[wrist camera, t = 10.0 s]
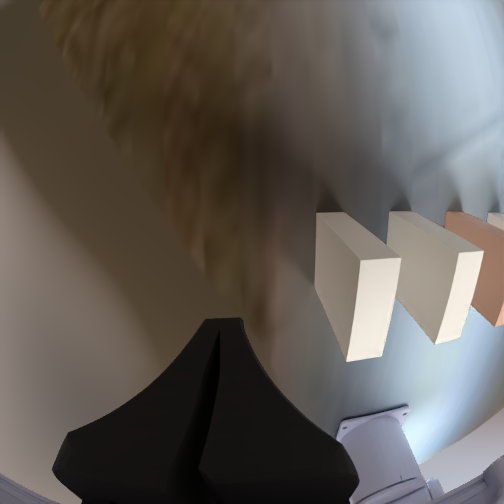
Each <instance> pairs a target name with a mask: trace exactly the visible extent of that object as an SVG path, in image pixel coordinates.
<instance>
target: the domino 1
mask: <svg viewBox="0 0 504 504" xmlns="http://www.w3.org/2000/svg"><path fill="white" fill-rule="evenodd" d="M400 264H401V257H400V256H399V255H398V254H397V253H396V252H394V251H393V250H392V249H391V248H389V247H388V246H387V245H386V244H385V243H383V242H382V241H381V240H380V239H378V238H377V237H376V236H375V235H373V234H372V233H371V232H370V231H368V230H367V229H366V228H364V227H363V226H362V225H361V224H359V223H358V222H357V221H355V220H354V219H353V218H351V217H350V216H349V215H347V214H346V213H345V212H329V213H316V256H315V282H314V287H315V290H316V292H317V294H318V296H319V299H320V301H321V303H322V306H323V308H324V310H325V312H326V315H327V317H328V319H329V322H330V324H331V326H332V329H333V331H334V333H335V336H336V338H337V341H338V343H339V345H340V348H341V350H342V353H343V355H344V357H345V360H346V362H349V361H356V360H362V359H368V358H374V357H380V356H382V352H383V349H384V345H385V341H386V337H387V332H388V328H389V324H390V319H391V315H392V310H393V305H394V300H395V294H396V289H397V283H398V277H399V271H400Z"/></svg>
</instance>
